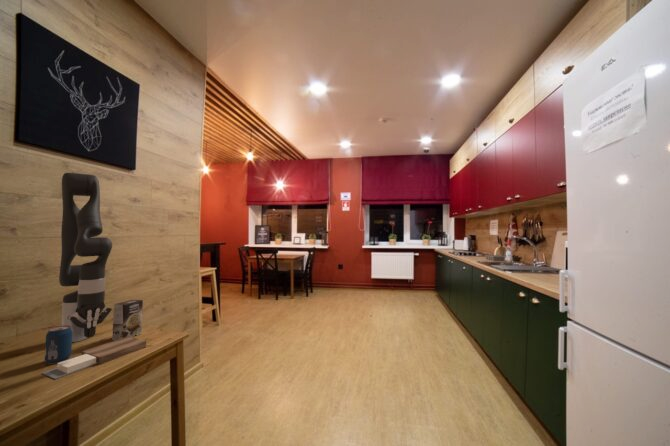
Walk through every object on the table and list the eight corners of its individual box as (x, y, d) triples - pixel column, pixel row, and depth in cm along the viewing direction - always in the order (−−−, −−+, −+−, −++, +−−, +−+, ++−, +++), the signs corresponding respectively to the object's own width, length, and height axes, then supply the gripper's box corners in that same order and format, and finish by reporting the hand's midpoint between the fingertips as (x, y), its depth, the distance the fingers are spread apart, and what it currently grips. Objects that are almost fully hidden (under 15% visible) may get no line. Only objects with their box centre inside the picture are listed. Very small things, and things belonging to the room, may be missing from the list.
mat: (41, 373, 90) (41, 372, 90) (84, 358, 100) (84, 358, 100) (55, 379, 86) (55, 378, 86) (97, 363, 97) (97, 362, 97)
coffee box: (123, 341, 116) (124, 304, 117) (111, 340, 118) (113, 303, 118) (142, 333, 125) (143, 299, 126) (131, 332, 127) (132, 298, 127)
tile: (57, 369, 92) (57, 363, 92) (86, 359, 99) (86, 353, 99) (67, 373, 89) (67, 367, 89) (96, 363, 97) (96, 357, 97)
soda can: (69, 354, 104) (71, 323, 104) (72, 359, 99) (73, 327, 100) (43, 360, 98) (45, 328, 99) (45, 366, 94) (46, 333, 94)
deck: (81, 357, 101) (81, 351, 101) (127, 342, 116) (127, 336, 116) (100, 364, 96) (100, 357, 96) (146, 347, 111) (146, 341, 111)
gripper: (106, 286, 106) (104, 329, 106) (62, 293, 94) (60, 342, 94) (117, 288, 103) (116, 332, 103) (74, 295, 91) (72, 346, 91)
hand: (89, 336), depth 98 cm, fingers closed
